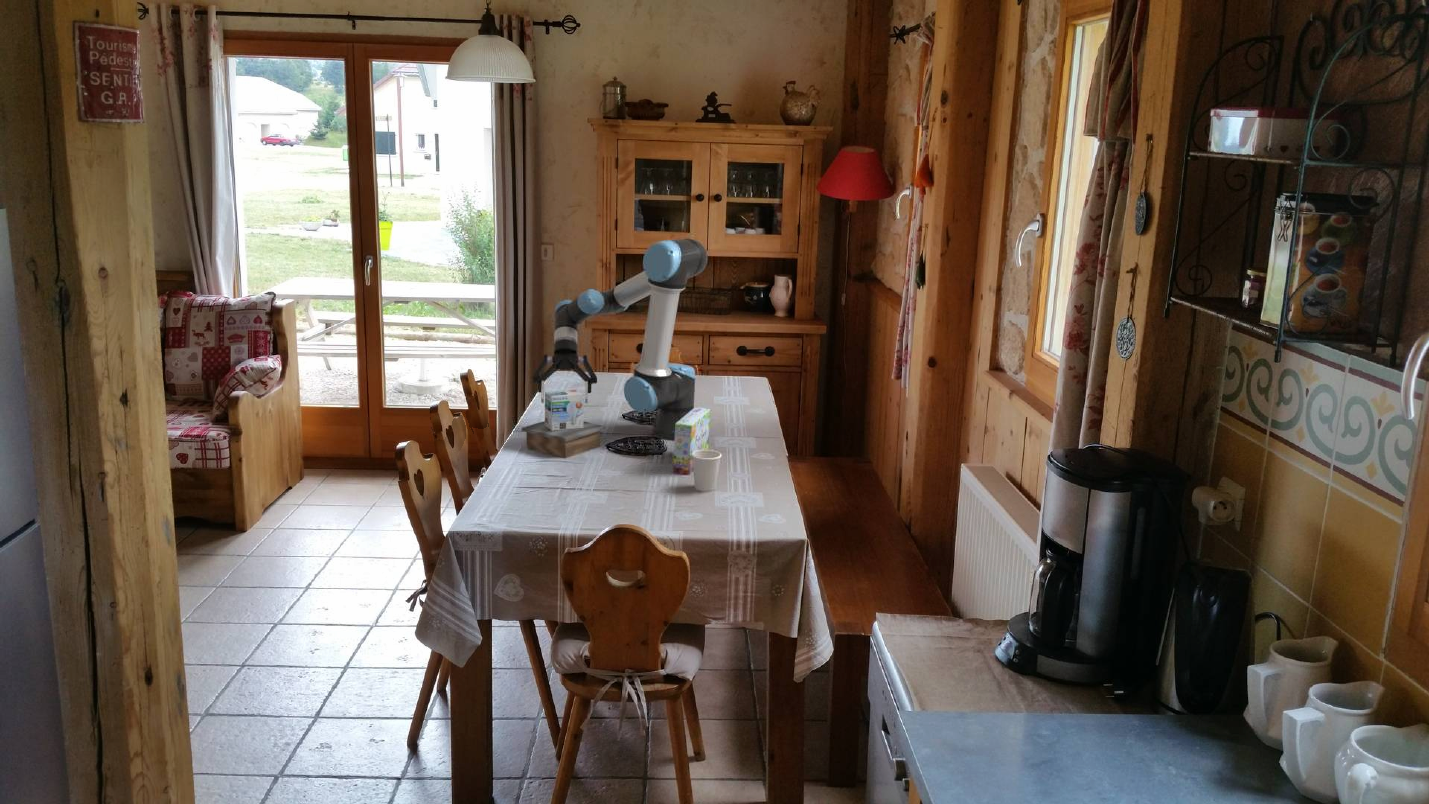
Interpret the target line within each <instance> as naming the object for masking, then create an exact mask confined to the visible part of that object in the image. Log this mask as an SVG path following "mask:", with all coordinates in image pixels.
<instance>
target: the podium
mask: <svg viewBox="0 0 1429 804" xmlns="http://www.w3.org/2000/svg"><path fill="white" fill-rule="evenodd" d="M604 430H606V426H605V425H601V424H597V423H592V422H588V421H584V420H583V428H577V429H566V430H555V431H551V430H550V429H549V428H547V427H546V426H545V420H543V421H541V422H537V423H534V424H533V423H532V424H530V425H526V426H522V427H521V432H525V433H526V434H525V435H526V438H525V439H526V443H525V444H526V447H525V448H526V449H529V450H534V451H538V452H541V453H545V454H549V455H552V456H556V457H560V458H563V457H564V459H567V458H570V457H573V456H576V455H579V454H582V452H583V453H585V452H588V451H591V449H592V450H594V449H598V448H600V447H601V440H602V439H601V437H602V435H601V432H602V431H604Z"/></svg>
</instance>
